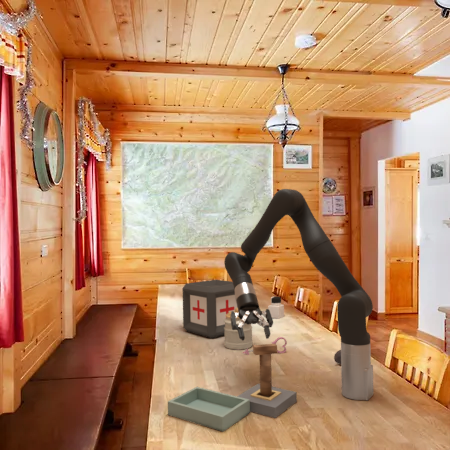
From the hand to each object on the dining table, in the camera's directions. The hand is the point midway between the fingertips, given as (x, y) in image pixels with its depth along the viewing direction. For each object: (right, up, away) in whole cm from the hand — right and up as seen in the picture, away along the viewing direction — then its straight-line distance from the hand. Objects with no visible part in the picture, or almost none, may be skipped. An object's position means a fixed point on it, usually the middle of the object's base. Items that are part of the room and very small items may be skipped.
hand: (255, 338), depth 150 cm
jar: (-4, -18, +55) cm, 58 cm away
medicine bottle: (+20, -17, +114) cm, 117 cm away
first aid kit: (-16, -18, +84) cm, 87 cm away
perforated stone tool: (+40, -17, +27) cm, 51 cm away
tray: (-15, -18, -16) cm, 29 cm away
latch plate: (+3, -18, -10) cm, 21 cm away
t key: (+3, -18, -10) cm, 21 cm away
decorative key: (+7, -18, +43) cm, 47 cm away
